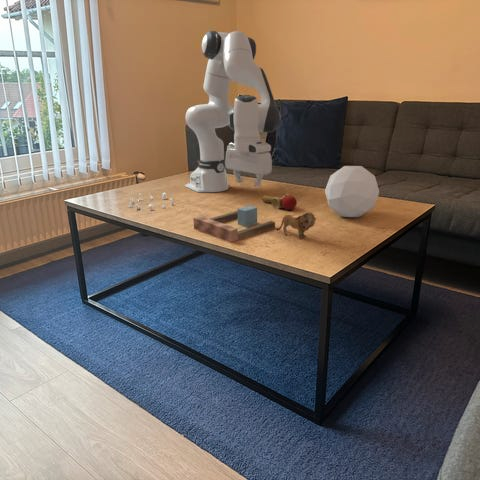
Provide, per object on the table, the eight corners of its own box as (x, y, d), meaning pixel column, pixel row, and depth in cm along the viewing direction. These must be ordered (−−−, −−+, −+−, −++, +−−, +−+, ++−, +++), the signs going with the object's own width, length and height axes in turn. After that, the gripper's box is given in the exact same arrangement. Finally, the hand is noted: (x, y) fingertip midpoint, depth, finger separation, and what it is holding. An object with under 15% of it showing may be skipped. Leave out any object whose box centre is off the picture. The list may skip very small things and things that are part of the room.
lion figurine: (317, 237, 153) (318, 211, 150) (310, 242, 149) (311, 215, 146) (279, 229, 161) (280, 205, 158) (271, 233, 157) (272, 208, 154)
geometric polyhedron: (342, 236, 173) (316, 199, 164) (340, 204, 188) (316, 168, 178) (390, 216, 165) (365, 176, 155) (384, 184, 179) (361, 146, 170)
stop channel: (194, 228, 164) (193, 217, 163) (237, 215, 177) (237, 205, 176) (231, 242, 150) (230, 230, 149) (275, 227, 164) (275, 216, 162)
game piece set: (157, 196, 209) (156, 188, 208) (184, 204, 195) (183, 195, 194) (119, 205, 196) (118, 196, 195) (145, 214, 183) (144, 205, 181)
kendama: (257, 207, 193) (286, 210, 179) (257, 192, 192) (287, 194, 178) (271, 207, 198) (300, 210, 184) (271, 192, 197) (301, 194, 183)
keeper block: (237, 224, 167) (237, 208, 165) (249, 221, 171) (249, 205, 169) (245, 227, 165) (245, 211, 163) (257, 223, 168) (257, 207, 166)
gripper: (220, 143, 163) (222, 181, 168) (261, 148, 149) (261, 190, 154) (233, 141, 167) (234, 178, 172) (274, 146, 153) (274, 186, 158)
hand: (248, 184), depth 163 cm, fingers open, 8 cm apart
